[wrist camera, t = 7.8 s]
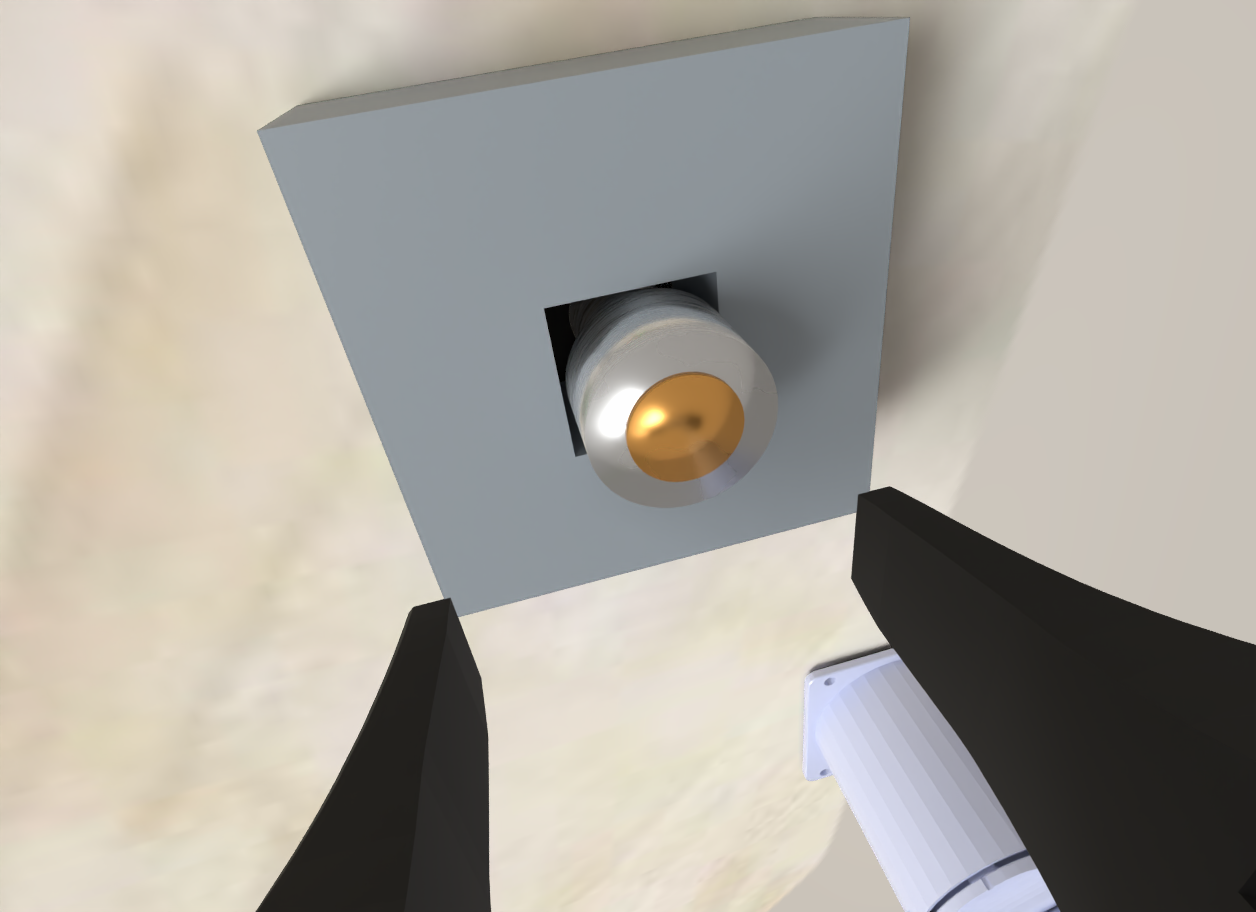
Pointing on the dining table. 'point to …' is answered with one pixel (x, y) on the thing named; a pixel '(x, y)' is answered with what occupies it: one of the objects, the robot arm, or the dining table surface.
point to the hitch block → (605, 277)
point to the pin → (666, 396)
